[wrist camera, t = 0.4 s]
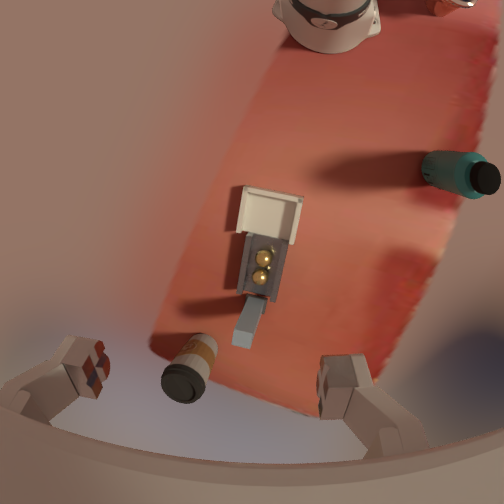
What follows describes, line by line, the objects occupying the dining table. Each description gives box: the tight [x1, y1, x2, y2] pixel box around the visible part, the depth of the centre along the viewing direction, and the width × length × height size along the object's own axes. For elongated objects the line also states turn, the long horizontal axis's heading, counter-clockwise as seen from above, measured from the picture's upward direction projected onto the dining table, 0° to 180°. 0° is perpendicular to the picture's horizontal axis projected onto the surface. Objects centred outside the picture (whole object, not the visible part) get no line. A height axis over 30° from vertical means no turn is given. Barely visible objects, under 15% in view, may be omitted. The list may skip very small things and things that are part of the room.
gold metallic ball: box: [255, 250, 272, 267], centre depth 56 cm, size 3×3×3 cm
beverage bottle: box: [421, 150, 501, 199], centre depth 39 cm, size 6×7×20 cm
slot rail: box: [236, 232, 289, 302], centre depth 58 cm, size 11×7×3 cm, turn 170°
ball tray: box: [236, 185, 304, 245], centre depth 55 cm, size 8×10×2 cm
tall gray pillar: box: [232, 293, 268, 349], centre depth 56 cm, size 3×4×13 cm
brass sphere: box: [252, 268, 269, 285], centre depth 57 cm, size 3×3×3 cm
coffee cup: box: [161, 334, 218, 404], centre depth 60 cm, size 8×8×15 cm
